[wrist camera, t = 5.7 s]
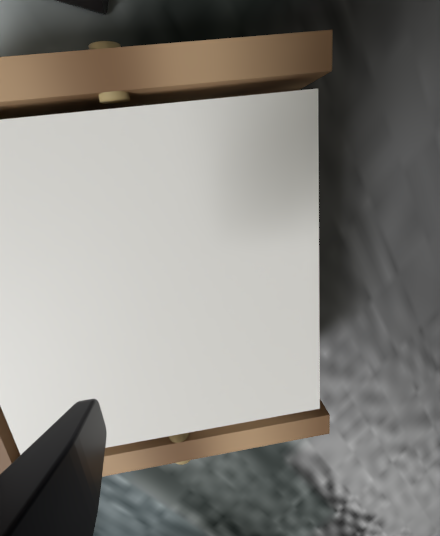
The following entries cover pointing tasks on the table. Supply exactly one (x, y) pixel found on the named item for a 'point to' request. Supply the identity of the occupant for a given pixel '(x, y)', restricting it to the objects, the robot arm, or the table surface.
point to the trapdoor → (160, 265)
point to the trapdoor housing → (160, 92)
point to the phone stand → (89, 4)
